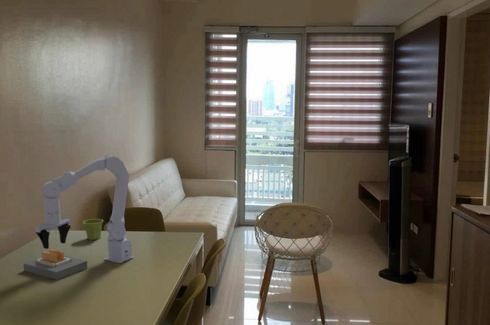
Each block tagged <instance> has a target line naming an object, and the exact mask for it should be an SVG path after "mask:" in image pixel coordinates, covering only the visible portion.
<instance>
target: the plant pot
mask: <svg viewBox="0 0 490 325" xmlns="http://www.w3.org/2000/svg"><path fill="white" fill-rule="evenodd" d="M103 222H104V220H103V219H100V218H91V219H86V220H84V221H83V222H82V223H83V224H82V225H84V228H85V229H84V230H85V233H86V237H87V239H88V240H89V241H95V240H100V239H101V236H102V227H103Z"/></svg>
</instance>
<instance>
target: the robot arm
mask: <svg viewBox="0 0 490 325" xmlns="http://www.w3.org/2000/svg"><path fill="white" fill-rule="evenodd" d="M106 169H107V171H109V172H110V173H112V174H113V176H114V177H115V178H116V179H115V180H116V181H115V189H114V195H113V203H112V211H111V212H112V213H111V216H110V218H109V222H108V223H107V226H106V232H107V233H108V236H107V257H105V258H103V260H104V261H108V262H113V263H116V264H117V263H118V264H121V263H124V262H126V261H128V260H131V259H133V258H134V256H133V254H132V242H131V241H130V240H129V239H127V238H126V233H127V232H126V227H125V224H126V223H125V211H126V202H127V195H128V187H129V181H130V180H129V179H130V173H129V171H128V170H127V168H126V166H125V164H124V161H123V160H121V159H120V157H119V156H115V155H113V154H111V153H110V154H106V155H105V156H102V157H99V158H97V159H95V160H93V161H91V162H89V163H87V164H86V165H85V166H83V167H81V168H79V169H78V170H76V171H64V172H63V173H62V175H60V176H58V177H56V178H51V180H50V181H47V182H45V183H44V184H43V186H42V188H41V189H42V193H43V209H44V211H43V212H44V223H43V224H40V225H38V226H35V227H34V230H35V233H36V235H37V236H38V238H39V240H40V241H41V244H42V248H43V249H46V250H49V247H50V242H49V241H50V240H49V239H50V233H51V232H50V231H47V230H51V229H52V230H53V229H55V228H57V229H58V234H59V242H60V244H66V243H67V242H66V241H67V237H68V234H69V231H70V230H71V218H65V219H61V218H62V216H61V215H62V214H61V201H60V197H59V196H60V195H59V194H60V192H61V193H63V192H64V191H66V190H67V189H68V190H69V189H70V188H71V187H74V186H75V185H77V184H78V181H79V180H80V179H82V178H84V177H85V176H88V175H90V174H92V173H94V172H96V171H106Z"/></svg>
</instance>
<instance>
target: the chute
mask: <svg viewBox="0 0 490 325" xmlns="http://www.w3.org/2000/svg"><path fill="white" fill-rule="evenodd" d="M64 256H65V253H64V251H62V250H56V249H54V248H53V249H52V248H50V249H49V248H48V251H44V250H43V251H41V258H42V260H43V261H47V262H50V263H54V264H56V263H59V262H62V261H64Z"/></svg>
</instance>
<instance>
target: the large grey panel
mask: <svg viewBox="0 0 490 325" xmlns="http://www.w3.org/2000/svg"><path fill="white" fill-rule="evenodd" d="M86 269H88V261H87V260H84V259H81V258H76V257H72V256H68V255H64V261H62V262H59V263H56V264H54V263H50V262H47V261H43V260H42V257H39V258H36V259H33V260H30V261H27V262H24V263H23V271H24V272H26V273H30V274H35V275H38V276H41V277H45V278H48V279H52V280H55V281H58V280H61V279H63V278H66V277H68V276H71V275H73V274H76V273H79V272H81V271H84V270H86Z"/></svg>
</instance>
